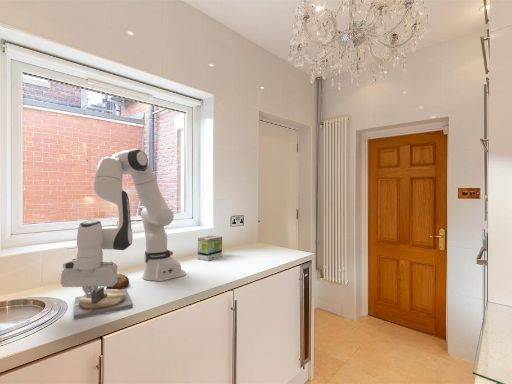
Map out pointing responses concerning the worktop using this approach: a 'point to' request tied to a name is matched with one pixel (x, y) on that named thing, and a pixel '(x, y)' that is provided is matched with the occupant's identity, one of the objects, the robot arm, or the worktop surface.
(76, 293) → the worktop surface
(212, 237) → the tea box
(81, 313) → the dial plate
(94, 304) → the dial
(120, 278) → the bread roll
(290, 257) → the worktop surface
